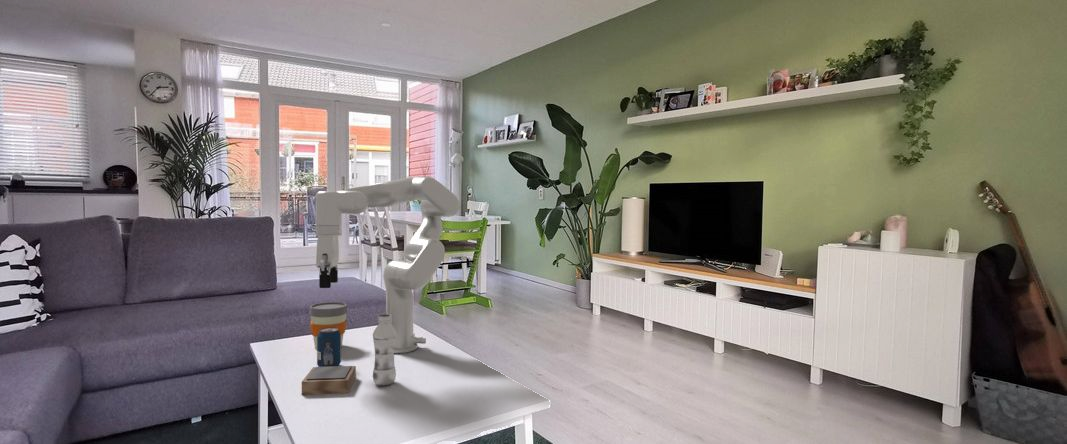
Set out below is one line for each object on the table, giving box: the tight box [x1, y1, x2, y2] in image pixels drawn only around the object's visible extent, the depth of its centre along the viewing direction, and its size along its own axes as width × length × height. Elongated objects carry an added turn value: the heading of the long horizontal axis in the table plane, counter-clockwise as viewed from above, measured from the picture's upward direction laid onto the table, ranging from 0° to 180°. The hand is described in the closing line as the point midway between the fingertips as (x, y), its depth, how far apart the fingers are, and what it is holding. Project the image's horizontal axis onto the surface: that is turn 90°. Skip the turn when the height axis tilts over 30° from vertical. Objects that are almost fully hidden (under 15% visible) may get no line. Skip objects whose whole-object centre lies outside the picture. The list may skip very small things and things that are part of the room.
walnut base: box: [301, 365, 357, 396], centre depth 146 cm, size 12×12×4 cm
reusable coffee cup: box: [308, 301, 348, 351], centre depth 183 cm, size 13×13×15 cm
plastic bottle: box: [372, 313, 397, 386], centre depth 149 cm, size 6×7×20 cm
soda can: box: [316, 327, 342, 367], centre depth 162 cm, size 7×7×12 cm
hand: (328, 285), depth 161 cm, fingers open, 9 cm apart
